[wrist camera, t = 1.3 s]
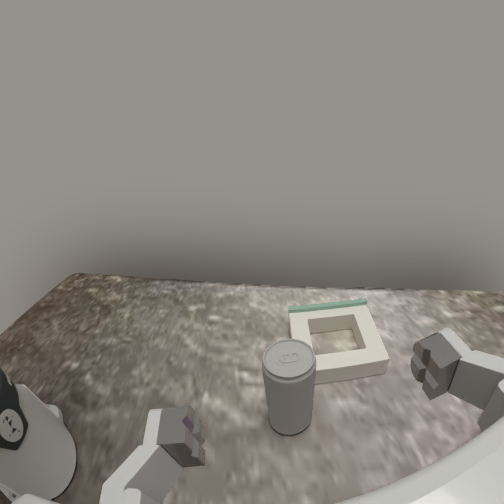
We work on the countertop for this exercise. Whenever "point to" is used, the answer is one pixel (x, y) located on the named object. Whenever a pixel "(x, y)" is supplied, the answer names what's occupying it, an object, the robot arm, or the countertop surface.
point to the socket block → (340, 318)
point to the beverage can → (289, 384)
